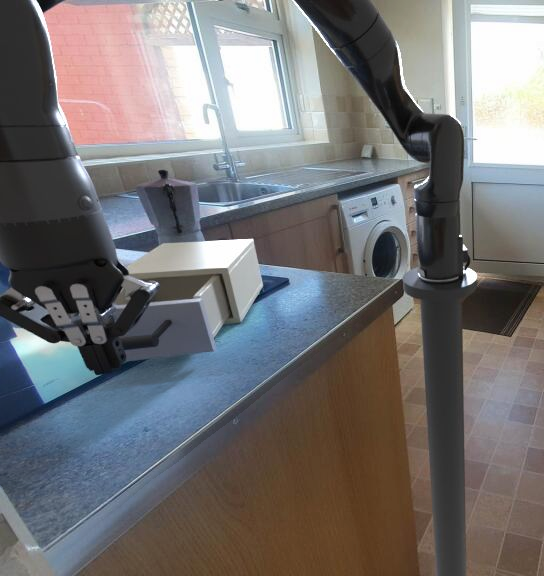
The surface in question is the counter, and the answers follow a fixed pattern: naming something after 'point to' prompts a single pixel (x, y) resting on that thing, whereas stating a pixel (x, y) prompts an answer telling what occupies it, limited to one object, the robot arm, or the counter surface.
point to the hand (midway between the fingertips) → (110, 370)
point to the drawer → (177, 317)
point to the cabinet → (208, 268)
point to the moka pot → (172, 208)
